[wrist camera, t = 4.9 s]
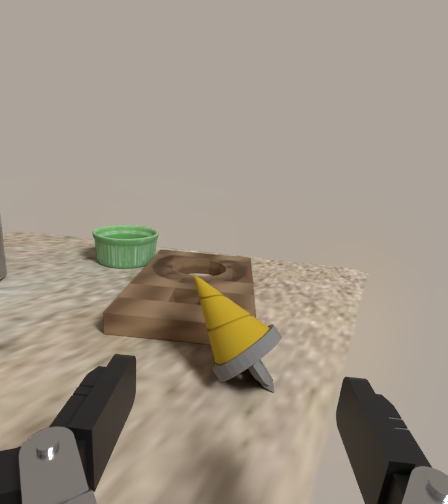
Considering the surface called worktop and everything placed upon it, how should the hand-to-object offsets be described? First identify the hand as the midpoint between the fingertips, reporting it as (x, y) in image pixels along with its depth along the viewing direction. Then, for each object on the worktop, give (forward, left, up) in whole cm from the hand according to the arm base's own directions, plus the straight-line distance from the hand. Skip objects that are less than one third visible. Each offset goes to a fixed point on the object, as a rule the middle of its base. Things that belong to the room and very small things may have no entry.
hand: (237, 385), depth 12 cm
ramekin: (-16, +34, -7) cm, 38 cm away
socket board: (-5, +24, -7) cm, 25 cm away
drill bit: (0, +10, -7) cm, 12 cm away
